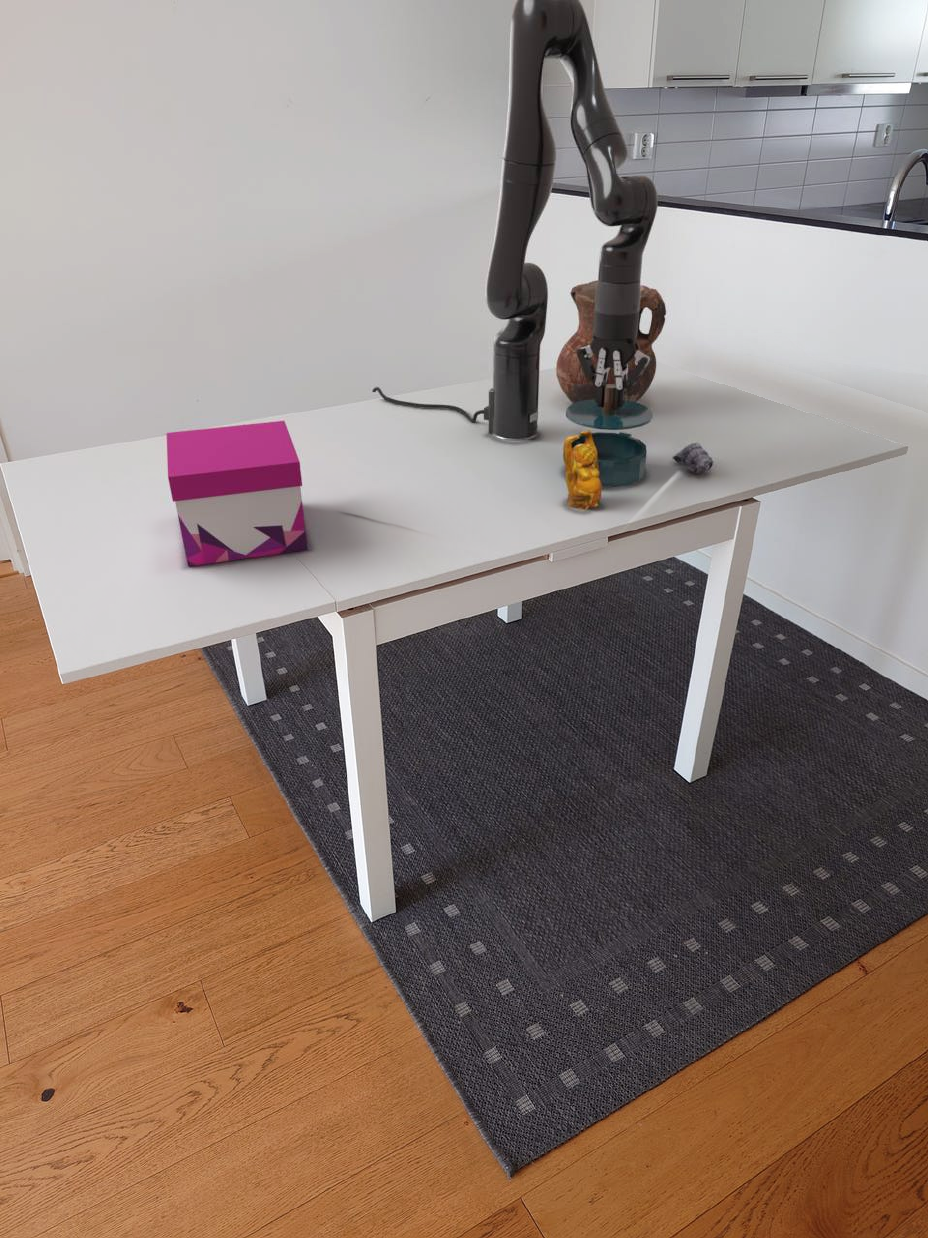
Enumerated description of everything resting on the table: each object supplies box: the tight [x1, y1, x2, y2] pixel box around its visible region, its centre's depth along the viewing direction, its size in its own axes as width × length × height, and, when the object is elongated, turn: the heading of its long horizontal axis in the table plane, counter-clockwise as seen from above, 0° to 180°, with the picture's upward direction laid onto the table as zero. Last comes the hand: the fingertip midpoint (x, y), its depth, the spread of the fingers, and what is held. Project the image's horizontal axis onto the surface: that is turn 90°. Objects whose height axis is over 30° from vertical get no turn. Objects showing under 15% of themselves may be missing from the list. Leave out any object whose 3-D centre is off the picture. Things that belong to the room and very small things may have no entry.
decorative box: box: [166, 420, 308, 567], centre depth 142 cm, size 19×19×15 cm
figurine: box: [562, 429, 603, 510], centre depth 151 cm, size 6×7×13 cm
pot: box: [564, 431, 648, 488], centre depth 164 cm, size 15×20×5 cm
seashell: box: [672, 442, 714, 474], centre depth 166 cm, size 5×5×10 cm
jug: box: [555, 279, 667, 404], centre depth 194 cm, size 22×21×25 cm
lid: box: [565, 384, 654, 431], centre depth 159 cm, size 16×16×6 cm
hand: (609, 406), depth 159 cm, fingers closed on lid, 2 cm apart
